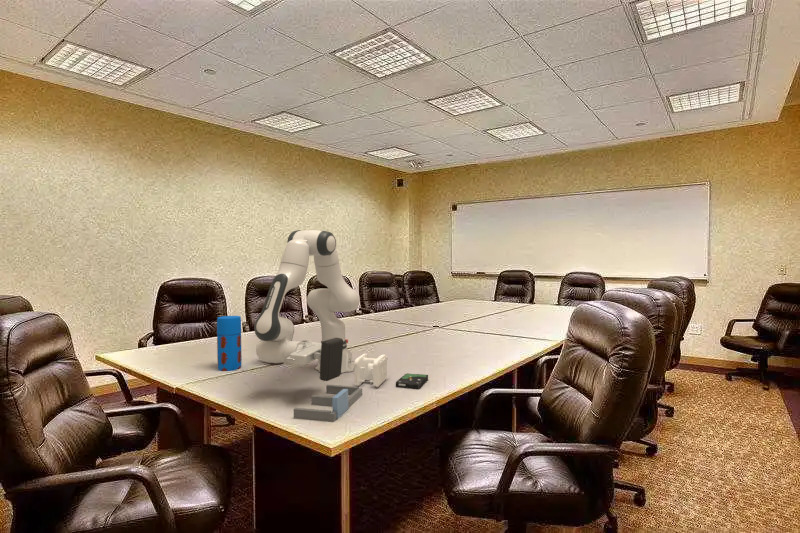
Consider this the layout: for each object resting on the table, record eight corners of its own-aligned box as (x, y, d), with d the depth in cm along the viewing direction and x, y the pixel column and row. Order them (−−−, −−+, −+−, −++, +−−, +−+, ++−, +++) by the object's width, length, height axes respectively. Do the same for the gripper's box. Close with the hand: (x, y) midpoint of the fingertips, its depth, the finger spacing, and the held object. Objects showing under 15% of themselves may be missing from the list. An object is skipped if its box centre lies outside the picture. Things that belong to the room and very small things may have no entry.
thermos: (233, 371, 204) (233, 319, 203) (213, 370, 205) (212, 318, 205) (245, 365, 215) (245, 315, 214) (225, 365, 216) (225, 315, 216)
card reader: (334, 373, 169) (336, 336, 168) (342, 376, 167) (344, 338, 166) (318, 379, 161) (320, 340, 160) (326, 382, 159) (328, 342, 158)
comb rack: (327, 391, 173) (327, 374, 172) (362, 394, 169) (362, 376, 169) (293, 417, 145) (293, 397, 145) (334, 421, 141) (334, 400, 141)
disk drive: (419, 391, 175) (428, 380, 189) (419, 384, 175) (428, 374, 189) (395, 388, 178) (405, 378, 193) (395, 382, 178) (405, 372, 192)
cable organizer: (365, 377, 193) (365, 352, 192) (388, 379, 190) (388, 353, 190) (353, 387, 178) (353, 359, 178) (378, 389, 176) (378, 361, 175)
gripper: (282, 350, 157) (317, 352, 154) (307, 339, 177) (339, 340, 174) (282, 367, 158) (317, 370, 154) (307, 354, 177) (339, 356, 174)
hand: (329, 354), depth 164 cm, fingers closed on card reader
